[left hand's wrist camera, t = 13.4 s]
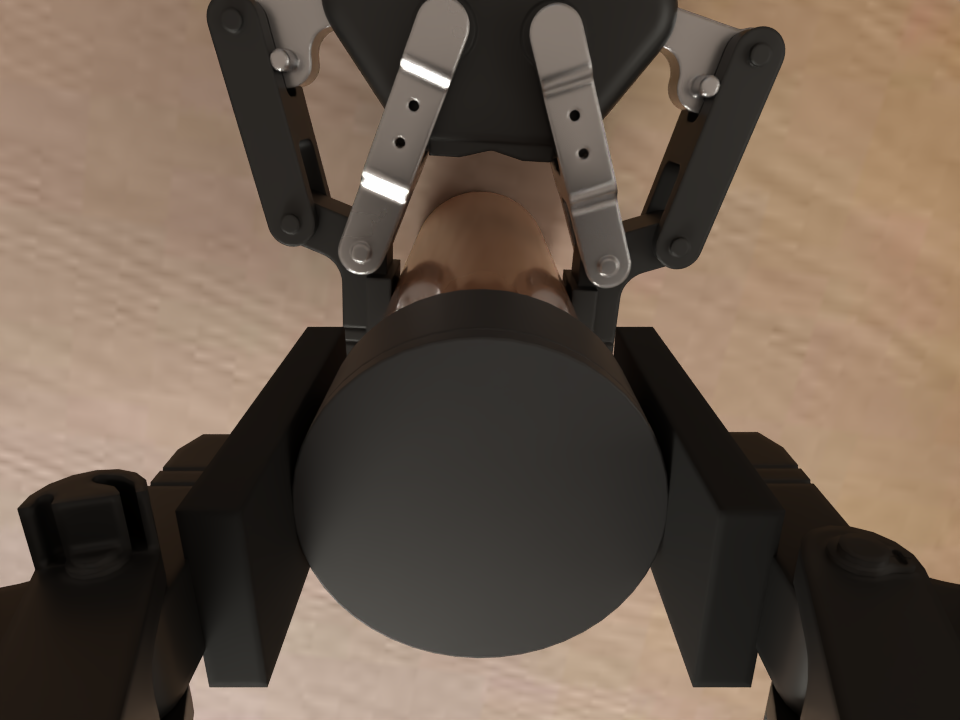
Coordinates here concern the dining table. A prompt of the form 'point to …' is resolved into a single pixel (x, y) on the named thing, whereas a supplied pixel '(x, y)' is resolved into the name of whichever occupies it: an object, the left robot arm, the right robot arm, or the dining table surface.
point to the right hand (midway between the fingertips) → (476, 391)
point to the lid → (480, 478)
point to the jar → (480, 253)
